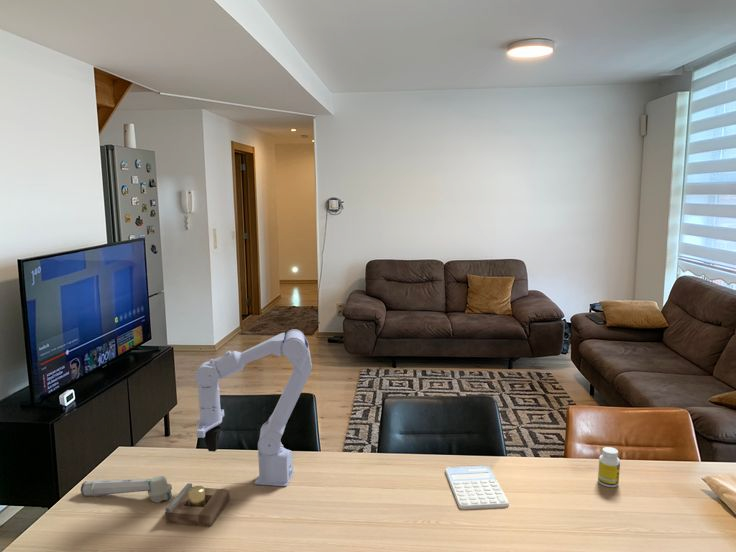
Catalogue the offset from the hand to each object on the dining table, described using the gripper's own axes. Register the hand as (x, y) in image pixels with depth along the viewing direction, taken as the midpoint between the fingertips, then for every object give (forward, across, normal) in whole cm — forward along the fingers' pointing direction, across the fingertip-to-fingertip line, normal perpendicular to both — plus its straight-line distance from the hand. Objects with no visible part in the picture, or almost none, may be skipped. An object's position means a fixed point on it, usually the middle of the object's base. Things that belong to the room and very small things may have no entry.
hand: (212, 450), depth 156 cm
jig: (+10, +14, +2) cm, 17 cm away
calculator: (+11, -5, +74) cm, 75 cm away
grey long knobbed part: (+10, +9, -21) cm, 25 cm away
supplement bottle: (+10, -11, +111) cm, 112 cm away
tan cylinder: (+10, +14, +1) cm, 17 cm away
